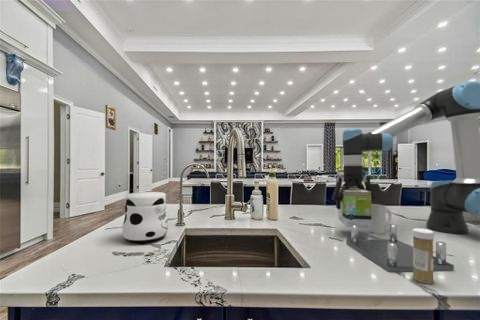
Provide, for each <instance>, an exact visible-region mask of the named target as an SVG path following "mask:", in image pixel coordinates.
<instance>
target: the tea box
mask: <svg viewBox="0 0 480 320" xmlns="http://www.w3.org/2000/svg"><path fill="white" fill-rule="evenodd" d="M342 188H343V187H341V188H340V191H341V189H342ZM340 191H339V193H340ZM341 202H343V217H339V216H338V220H339V221H341V223H342V224H343V225H344V226H345V227H346V228H351V225H358V229H360V228H361V229H362V228H363V229H369V228H371V227H372V211H371V204H372V201H371V192H370V191H367V189H365V190H362V189H359V188H358V187H350V188H349V189H348V190H343V198H342V200H341Z"/></svg>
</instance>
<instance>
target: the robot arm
mask: <svg viewBox="0 0 480 320" xmlns="http://www.w3.org/2000/svg"><path fill="white" fill-rule="evenodd" d="M443 117H444V118H445V120H446V121H448V122H450V127H451V128H450V129H451V137H452V147H453V155H454V156H453V157H454V164H455V166H454V167H455V174H456V175H455V176H456V178H455V179H454V180H434V181H432V182H431V184H430V213H429V216H428V217H427V218H428V219H427V220H426V223H425V224H426V228H427V229H428V230H431V231H436V232H440V233H445V234H446V233H447V234H458V235H465V234H466V235H467V234H469V226H468V225H467V222H466V219H465V216H464V213H468V214H471V215H479V216H480V122H479V119H480V82H478V81H473V80H469V81H466V82H462V83H458V84H456V85H453V86H451V87H449V88H447V89H446V88H445V89H443V90H440V91H438V92H437V93H434V94H432V95H431V96H430V97H428V98H427V99H425V100H423V101H422V102H420V103H418V104H416V105H415V106H414V108H413V109H411V110H409V111H407V112H405V113H403V114H401V115H400V116H397V117H396V118H394V119H391V120H390V121H388V122H386V123H384V124H382V125H380V126H378V127H376V128H374V129H373V130H370V131H369V132H367V133H363V132H362V129H361V128H349V129H345V130H343V132H342V155H343V156H342V161H343V167H342V168H343V170H342V174H343V176H342V177H336V183H335V186H334V190H333V193H332V195H331V200H333V201H335V203H336V204H335V205H336V206H335V207H336V209H337V216H338V218H339V217H343V202H341V200H342V198H343V190H348V189H349V188H359V189H362V190H367V191H370V192H371V202H373V200H376V197H377V196H376V193H375V192H374V190H373V187H372V184H371V178H370V177H369V176H363V174H364V173H363V172H364V171H363V153H369V152H384V151H390V150H391V149H392V147H393V145H394V140H393V139H394V138H395V137H397V136H399V135H401V134H403V133H405V132H407V131H409V130H410V129H412V128H414V127H416V126H418V125H421V124H422V123H429V122H431V121H433V120H436V119H439V118H443ZM362 182H363V183H364V184H363V183H362ZM343 183H344V184H343ZM342 184H343V185H342ZM340 188H342V189H341V191H340ZM339 191H340V193H339Z"/></svg>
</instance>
